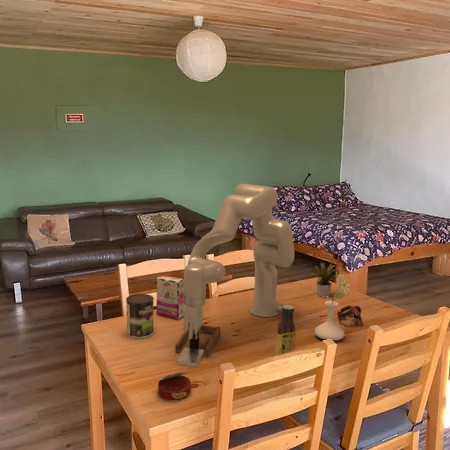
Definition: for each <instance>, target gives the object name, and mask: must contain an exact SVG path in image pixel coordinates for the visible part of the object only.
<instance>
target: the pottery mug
mask: <svg viewBox="0 0 450 450" xmlns="http://www.w3.org/2000/svg"><path fill="white" fill-rule="evenodd" d="M361 313H362V308H361V307H360V306H359V305H355V306H353V305H346V306H344V307H342V308H340V310H338V311H337V312H336V314H337V320H339V321H345V322H346V321H347V318H350V319H357V320H358V321H357V322H356V323H357V325H358V327H359V326H361V325H362V326H363V320H362V316H361ZM362 326H361V327H362Z"/></svg>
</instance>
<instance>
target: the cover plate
mask: <svg viewBox="0 0 450 450" xmlns="http://www.w3.org/2000/svg"><path fill="white" fill-rule="evenodd" d="M204 354H205V349H202V348H201V349H200V348H198V349H193V348H189V347H184V348H183V350H182V352H181V353H180V355H179V357H178V358H177V360H176V365H177V366H184V367H191V368H192V367H193V368H197V367H198V366H199V365H200V362H201V360H202V358H203V357H204Z"/></svg>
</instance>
